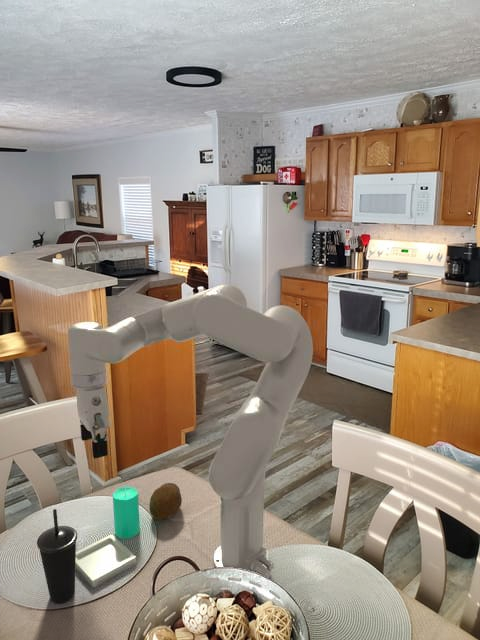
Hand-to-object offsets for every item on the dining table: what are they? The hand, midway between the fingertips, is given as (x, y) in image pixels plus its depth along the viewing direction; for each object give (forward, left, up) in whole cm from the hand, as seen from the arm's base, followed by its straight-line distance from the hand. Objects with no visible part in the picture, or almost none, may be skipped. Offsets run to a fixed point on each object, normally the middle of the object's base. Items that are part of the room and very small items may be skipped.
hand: (94, 447), depth 118 cm
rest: (-9, +4, -24) cm, 26 cm away
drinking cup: (-11, +15, -24) cm, 30 cm away
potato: (-4, -17, -24) cm, 29 cm away
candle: (-3, -6, -24) cm, 25 cm away
